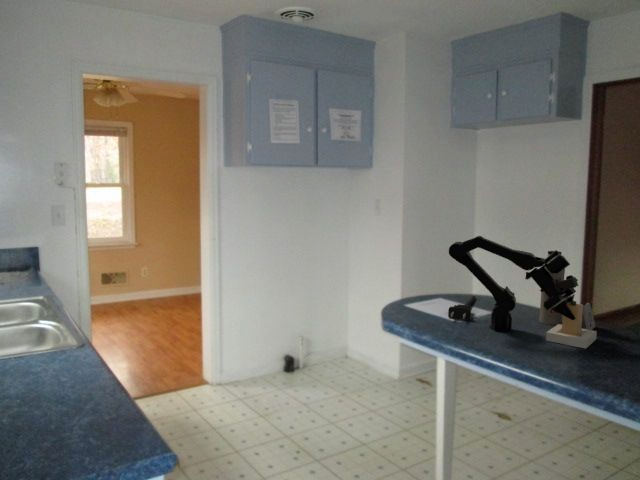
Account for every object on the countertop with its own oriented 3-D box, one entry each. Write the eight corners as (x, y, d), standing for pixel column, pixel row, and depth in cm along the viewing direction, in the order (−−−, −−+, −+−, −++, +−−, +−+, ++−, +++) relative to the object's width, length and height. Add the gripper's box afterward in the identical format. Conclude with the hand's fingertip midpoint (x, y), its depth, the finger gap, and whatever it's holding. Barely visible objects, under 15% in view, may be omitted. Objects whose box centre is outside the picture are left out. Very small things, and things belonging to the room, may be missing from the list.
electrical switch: (589, 332, 199) (588, 308, 198) (574, 331, 202) (573, 307, 202) (595, 327, 206) (594, 303, 206) (580, 326, 210) (580, 302, 209)
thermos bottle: (561, 325, 208) (566, 253, 204) (539, 323, 211) (543, 252, 207) (561, 320, 215) (565, 250, 211) (539, 318, 218) (543, 249, 214)
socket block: (545, 340, 190) (546, 332, 190) (557, 332, 200) (558, 324, 199) (585, 348, 182) (586, 340, 181) (596, 339, 191) (596, 331, 191)
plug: (561, 335, 190) (563, 301, 189) (565, 332, 194) (568, 298, 192) (578, 338, 187) (580, 304, 185) (582, 335, 191) (584, 301, 189)
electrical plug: (445, 321, 214) (446, 308, 213) (463, 302, 251) (464, 291, 251) (468, 324, 210) (468, 311, 210) (482, 304, 248) (483, 293, 247)
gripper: (555, 272, 183) (588, 310, 177) (571, 265, 197) (602, 299, 191) (530, 291, 189) (561, 328, 183) (548, 283, 203) (577, 317, 198)
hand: (576, 317), depth 189 cm, fingers closed on plug, 5 cm apart
